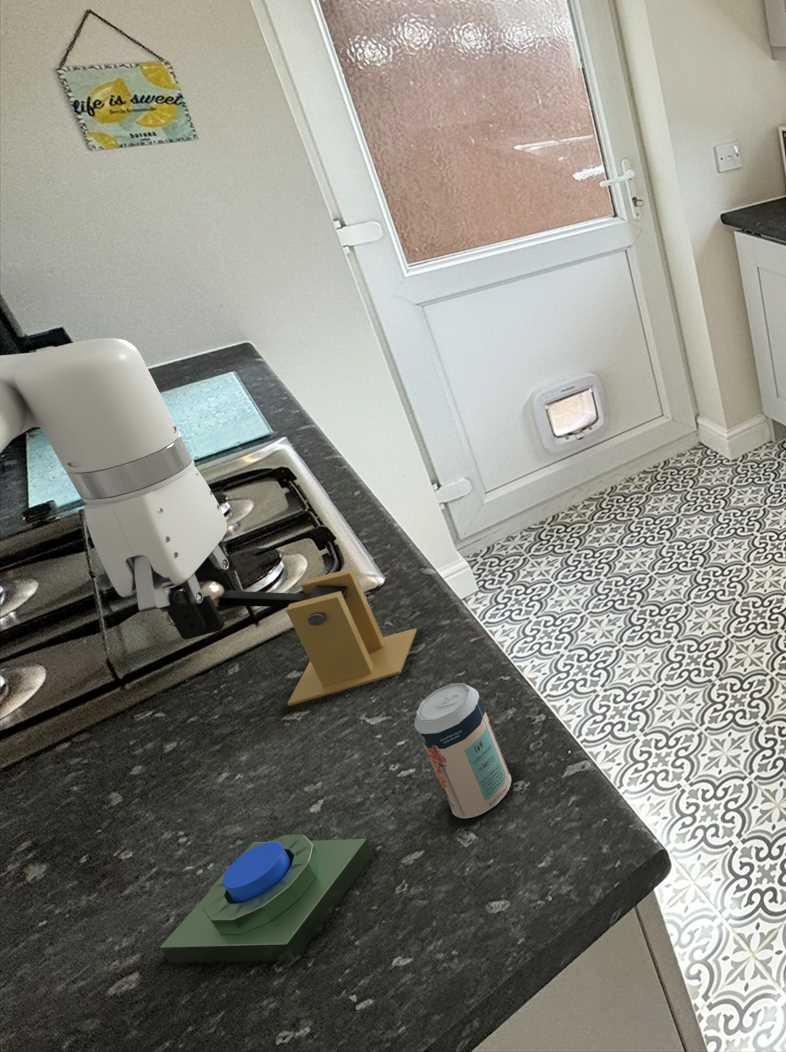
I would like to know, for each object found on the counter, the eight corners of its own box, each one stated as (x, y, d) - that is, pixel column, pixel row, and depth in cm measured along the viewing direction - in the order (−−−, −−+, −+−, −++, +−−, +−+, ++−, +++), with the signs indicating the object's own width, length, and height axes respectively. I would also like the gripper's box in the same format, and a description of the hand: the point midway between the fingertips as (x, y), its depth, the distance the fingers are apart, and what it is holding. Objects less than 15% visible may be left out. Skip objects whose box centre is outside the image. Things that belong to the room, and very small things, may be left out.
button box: (171, 965, 60) (148, 932, 59) (262, 859, 68) (244, 827, 66) (297, 961, 60) (277, 929, 59) (375, 855, 68) (359, 824, 66)
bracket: (291, 712, 82) (246, 625, 78) (315, 664, 88) (276, 581, 84) (403, 679, 86) (366, 594, 81) (419, 635, 92) (386, 554, 88)
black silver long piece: (170, 620, 77) (175, 592, 76) (187, 599, 80) (191, 572, 79) (334, 624, 83) (340, 599, 82) (345, 604, 86) (350, 580, 85)
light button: (218, 903, 61) (209, 888, 60) (259, 856, 64) (251, 841, 64) (263, 902, 61) (254, 887, 60) (302, 854, 64) (294, 840, 64)
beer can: (462, 782, 74) (422, 687, 69) (518, 766, 75) (482, 672, 71) (445, 829, 69) (401, 732, 65) (505, 812, 71) (466, 715, 66)
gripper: (132, 436, 79) (207, 580, 86) (17, 528, 65) (119, 693, 71) (225, 419, 82) (291, 560, 88) (135, 504, 67) (222, 665, 74)
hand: (213, 618), depth 80 cm, fingers closed on black silver long piece, 3 cm apart
